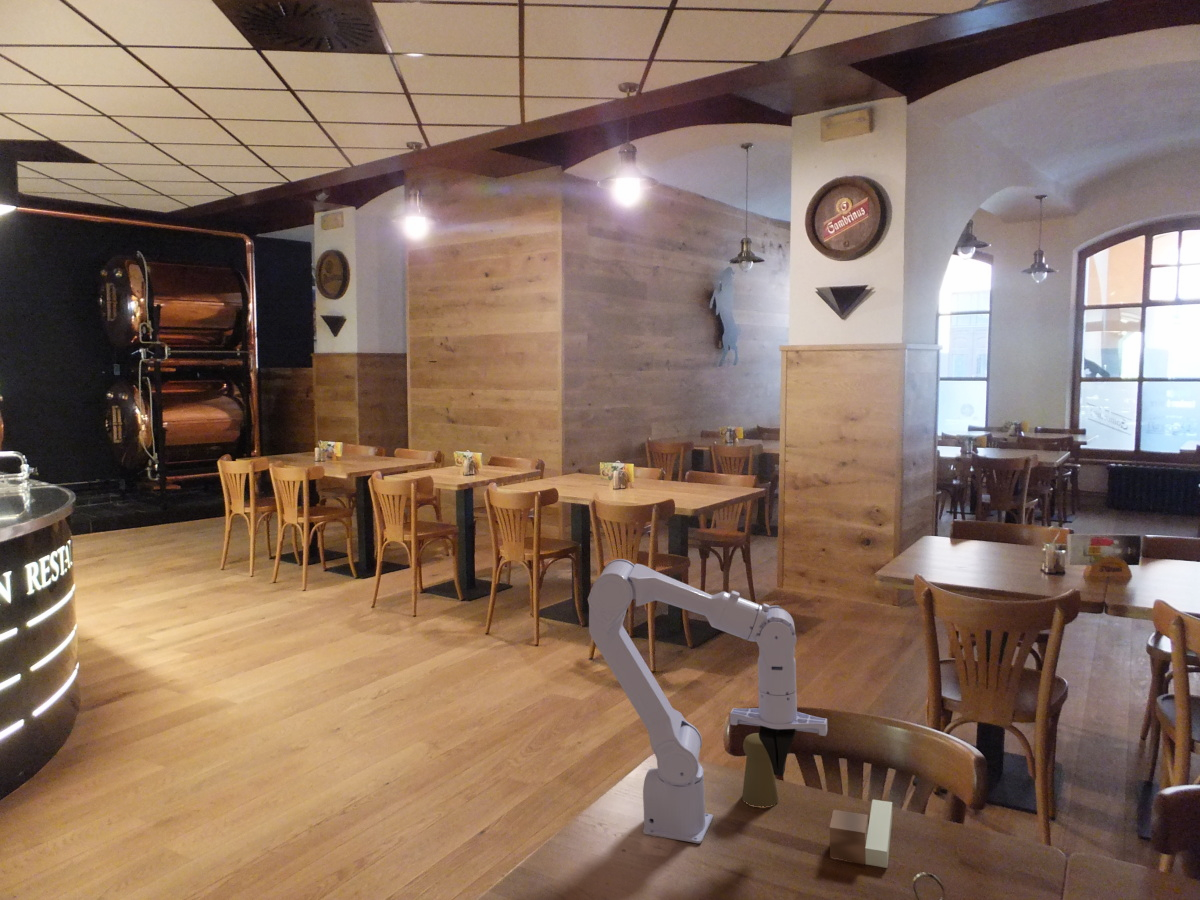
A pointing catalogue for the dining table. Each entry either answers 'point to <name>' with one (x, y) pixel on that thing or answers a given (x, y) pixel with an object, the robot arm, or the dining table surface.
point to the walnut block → (848, 836)
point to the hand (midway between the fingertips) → (779, 772)
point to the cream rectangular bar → (879, 834)
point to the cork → (758, 774)
